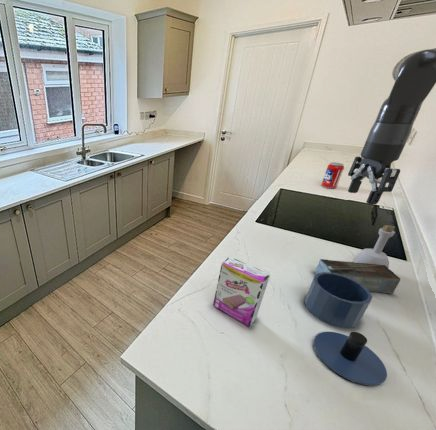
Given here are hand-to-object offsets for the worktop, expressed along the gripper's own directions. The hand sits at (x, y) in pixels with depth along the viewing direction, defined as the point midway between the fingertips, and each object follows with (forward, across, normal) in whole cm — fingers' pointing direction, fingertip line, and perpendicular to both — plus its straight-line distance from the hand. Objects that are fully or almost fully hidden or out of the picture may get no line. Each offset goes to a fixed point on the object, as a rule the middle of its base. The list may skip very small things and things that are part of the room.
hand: (361, 197), depth 75 cm
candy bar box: (+30, -20, +33) cm, 49 cm away
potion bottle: (+30, +8, -17) cm, 36 cm away
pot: (+30, -15, +6) cm, 34 cm away
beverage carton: (+30, -1, -7) cm, 31 cm away
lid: (+29, -31, +10) cm, 44 cm away
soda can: (+30, +96, -45) cm, 110 cm away
